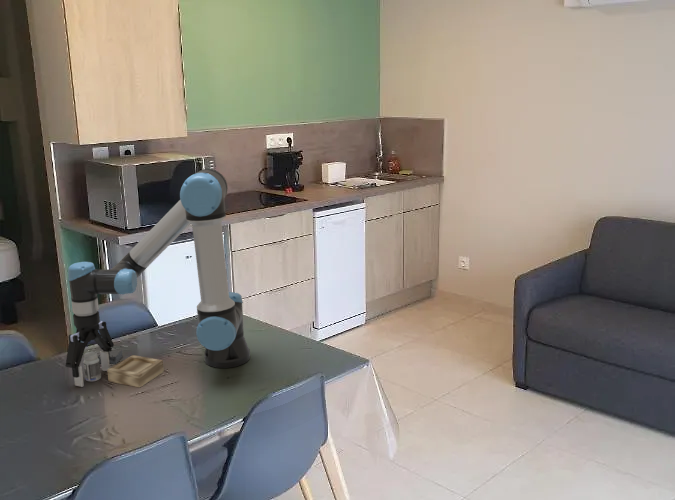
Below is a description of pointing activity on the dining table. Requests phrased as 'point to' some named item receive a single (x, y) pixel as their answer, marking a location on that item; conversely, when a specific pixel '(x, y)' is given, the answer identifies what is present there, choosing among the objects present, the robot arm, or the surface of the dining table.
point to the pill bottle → (91, 366)
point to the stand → (135, 371)
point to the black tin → (114, 356)
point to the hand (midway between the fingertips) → (93, 377)
